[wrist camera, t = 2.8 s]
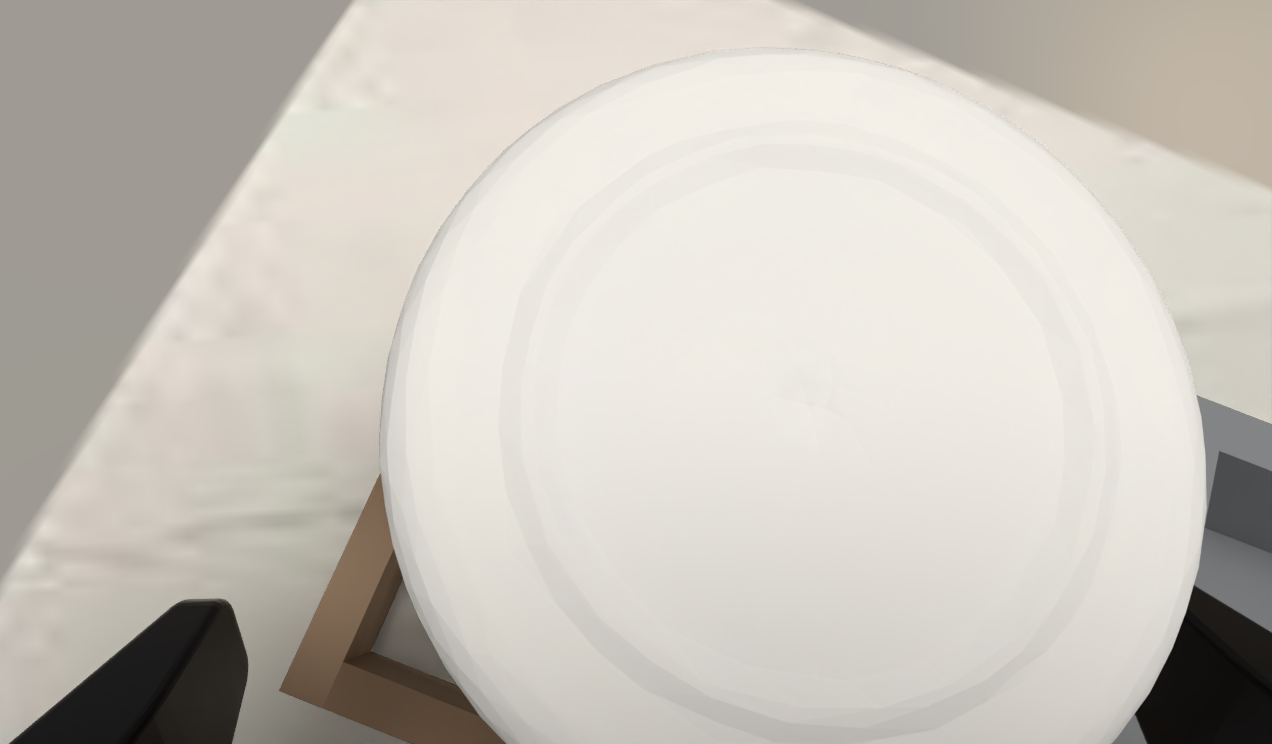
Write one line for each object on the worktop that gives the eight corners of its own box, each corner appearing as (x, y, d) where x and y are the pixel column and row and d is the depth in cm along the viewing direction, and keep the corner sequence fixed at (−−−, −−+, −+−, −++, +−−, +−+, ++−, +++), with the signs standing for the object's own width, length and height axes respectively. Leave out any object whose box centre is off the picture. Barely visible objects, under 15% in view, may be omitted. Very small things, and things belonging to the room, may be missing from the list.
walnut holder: (774, 860, 16) (803, 900, 14) (314, 676, 16) (279, 690, 14) (910, 407, 18) (950, 387, 16) (508, 250, 18) (501, 212, 16)
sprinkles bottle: (695, 398, 18) (1022, -67, 5) (772, 602, 17) (1418, 689, 4) (493, 465, 17) (256, 131, 4) (561, 682, 16) (522, 1099, 3)
